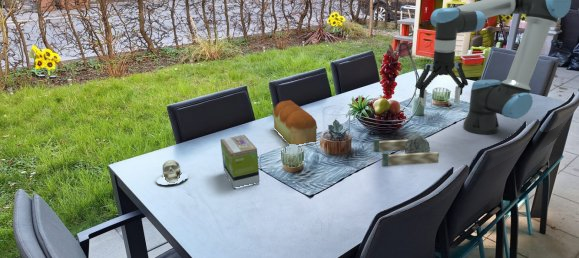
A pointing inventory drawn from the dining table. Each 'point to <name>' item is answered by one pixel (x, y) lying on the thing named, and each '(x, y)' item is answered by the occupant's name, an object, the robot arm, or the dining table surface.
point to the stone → (417, 144)
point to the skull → (171, 171)
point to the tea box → (240, 160)
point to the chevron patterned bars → (402, 158)
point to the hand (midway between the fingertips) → (439, 104)
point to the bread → (294, 123)
